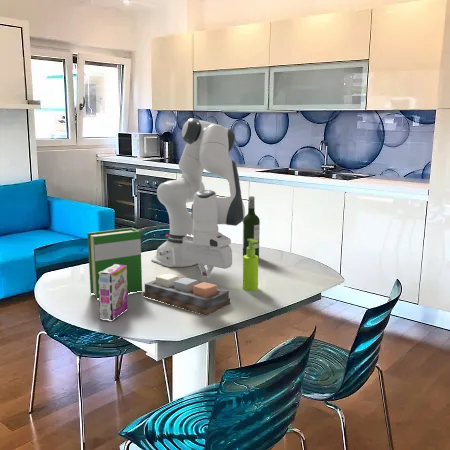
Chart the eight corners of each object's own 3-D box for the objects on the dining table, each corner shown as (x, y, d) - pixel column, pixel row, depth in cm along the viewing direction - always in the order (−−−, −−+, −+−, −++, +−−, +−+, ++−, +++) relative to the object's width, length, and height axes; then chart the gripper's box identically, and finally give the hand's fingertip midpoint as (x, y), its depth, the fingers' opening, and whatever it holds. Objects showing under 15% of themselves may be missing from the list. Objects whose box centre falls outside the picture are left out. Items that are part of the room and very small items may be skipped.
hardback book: (97, 301, 177) (94, 236, 173) (90, 295, 184) (87, 232, 179) (142, 292, 187) (140, 231, 182) (134, 286, 193) (132, 227, 188)
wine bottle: (259, 260, 231) (260, 197, 225) (242, 260, 232) (243, 197, 226) (258, 256, 239) (259, 195, 233) (242, 256, 239) (243, 195, 233)
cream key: (156, 285, 182) (155, 276, 181) (167, 281, 187) (166, 273, 186) (167, 289, 178) (167, 279, 178) (178, 284, 183) (178, 275, 182)
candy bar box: (112, 322, 158) (110, 273, 155) (99, 320, 160) (96, 272, 156) (129, 310, 169) (127, 264, 165) (116, 308, 170) (114, 263, 167)
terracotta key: (193, 295, 171) (193, 286, 171) (203, 291, 176) (203, 281, 175) (206, 299, 168) (206, 289, 167) (217, 294, 173) (217, 285, 172)
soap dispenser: (248, 292, 187) (249, 241, 183) (240, 287, 193) (240, 238, 189) (262, 290, 189) (262, 240, 185) (252, 285, 195) (253, 236, 191)
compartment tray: (142, 297, 181) (142, 284, 180) (168, 287, 192) (168, 275, 191) (206, 315, 164) (206, 301, 163) (230, 303, 175) (230, 290, 174)
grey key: (174, 290, 177) (173, 281, 176) (184, 286, 181) (184, 277, 181) (186, 294, 173) (186, 284, 172) (197, 289, 178) (197, 280, 177)
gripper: (176, 235, 171) (177, 273, 174) (223, 243, 160) (224, 283, 162) (188, 232, 176) (189, 269, 179) (234, 240, 165) (234, 279, 167)
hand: (206, 276), depth 171 cm, fingers closed
